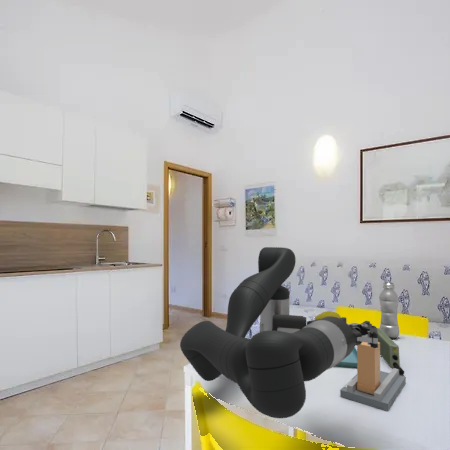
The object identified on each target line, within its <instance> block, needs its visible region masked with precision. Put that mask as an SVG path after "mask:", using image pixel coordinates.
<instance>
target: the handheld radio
mask: <svg viewBox="0 0 450 450" xmlns="http://www.w3.org/2000/svg"><path fill="white" fill-rule="evenodd" d="M376 328H377V332H378V342H380V357H381V358H382V357H383V358H382V359H383V360H384V362H386V364H387V365H388V366H389V367H390V368H391V369H393V368H395V369H399V375H400V376H403V375H405V370H403V368H402V367H401V366H400V365H401V363H400V361H401V360H400V347H399V345H398V344H397V343H396V342H395V341H393V339H392V338H389V337H388V336H387V335H386V334H385V333H384V332H383V331H382V330H381V329H380V327H376Z"/></svg>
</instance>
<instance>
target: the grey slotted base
mask: <svg viewBox="0 0 450 450" xmlns="http://www.w3.org/2000/svg"><path fill="white" fill-rule="evenodd" d="M406 378H407V377H406V376H403V375H401V374H400V373H399V369H396V368H392V370H391V371H390V372H387V371H382V370H380V382H381V385H380V386H379V387H378V388H377V390H376V391H375V392H374V395H373V394H370V393H366V392H363V391H359V390H357V373H356V374H355V375H354V376H353V377H352V378H351V379H350V380H349V381H348V382H347V383H346V384H345V385H343V387H342V388H340V389H339V393H340V394H339V395H340V397H341V398H344V399H348V400H351V401H354V402H356V403H357V402H358V403H360V404H363V405H367V406H371V407H373V408H377V409H380V410H383V411H386V412H388V411H389V410H390V408H391V407H392V406H393V404H394V402H395V401H396V399H397V397H398V396H399V394H400V392H401V391H402V389H403V388H404V386H405V385H406V384H407V383H406V382H407V381H406V380H407V379H406Z"/></svg>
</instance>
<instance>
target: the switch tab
mask: <svg viewBox="0 0 450 450" xmlns="http://www.w3.org/2000/svg"><path fill="white" fill-rule="evenodd" d="M356 350H357V368H356V370H357V371H356V372H357V373H356V374H357V390H359V391H363V392H366V393H370V394H373V395H374V392H375V391H376V390H377V388H378V387H379V386H380V385H381V382H380V371H381V355H380V342H378V348H373V347H371V346H370V345H368V342H362V343H361V344H360V345H356Z"/></svg>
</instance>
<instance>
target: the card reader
mask: <svg viewBox="0 0 450 450" xmlns="http://www.w3.org/2000/svg"><path fill="white" fill-rule="evenodd" d="M306 325H307V316H304V315H295V314H294V315H291V314H289V315H281V314H276V315H273V320H272V331H283V332H288V333H294V332H296V331H298V330H301V329H302V328H304V327H305V326H306Z"/></svg>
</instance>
